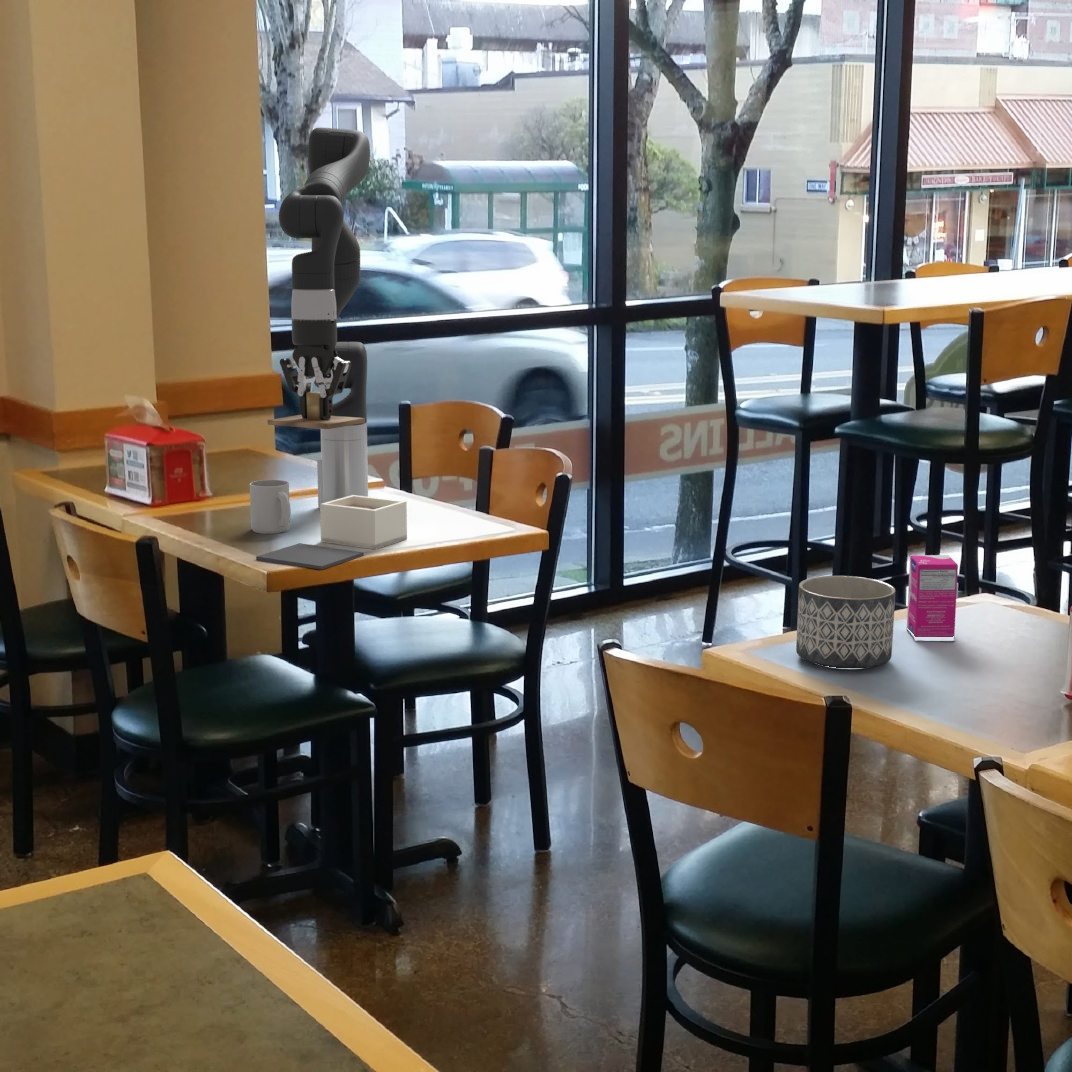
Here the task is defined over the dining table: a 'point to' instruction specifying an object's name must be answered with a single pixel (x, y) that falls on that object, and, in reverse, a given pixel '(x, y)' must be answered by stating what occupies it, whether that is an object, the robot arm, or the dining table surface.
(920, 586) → the supplement box
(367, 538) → the tea box
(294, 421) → the lid
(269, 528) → the cup
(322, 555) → the mat
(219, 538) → the dining table surface
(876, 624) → the planter
